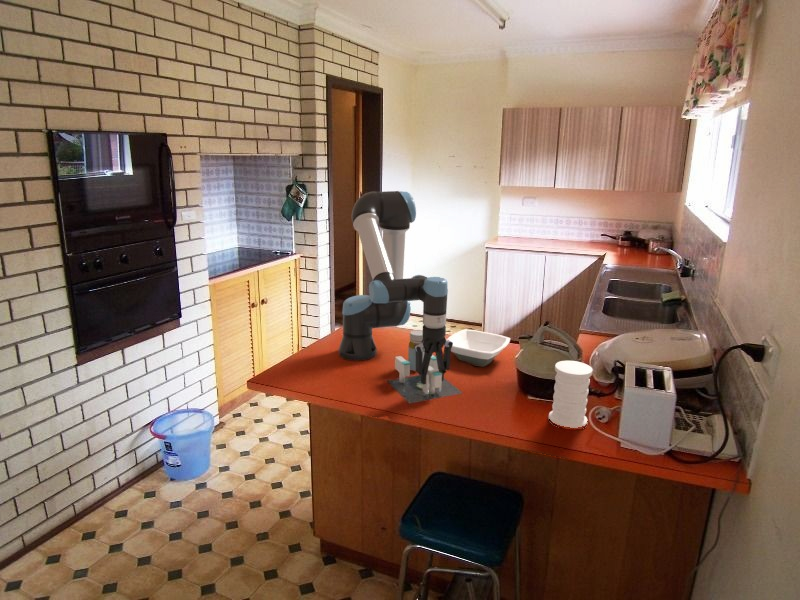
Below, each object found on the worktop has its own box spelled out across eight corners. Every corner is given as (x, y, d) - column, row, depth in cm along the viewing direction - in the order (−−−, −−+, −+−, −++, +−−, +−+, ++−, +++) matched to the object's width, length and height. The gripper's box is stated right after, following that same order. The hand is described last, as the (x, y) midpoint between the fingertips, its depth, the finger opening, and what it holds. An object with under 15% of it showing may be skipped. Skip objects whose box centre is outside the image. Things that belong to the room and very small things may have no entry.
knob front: (423, 389, 189) (424, 366, 187) (429, 387, 190) (430, 365, 188) (434, 398, 182) (435, 374, 180) (440, 397, 183) (441, 373, 181)
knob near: (394, 378, 197) (395, 356, 195) (400, 377, 198) (401, 355, 196) (403, 386, 191) (404, 363, 188) (409, 385, 192) (410, 362, 189)
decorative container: (543, 423, 170) (549, 369, 165) (554, 408, 180) (560, 357, 175) (581, 434, 165) (588, 378, 160) (591, 418, 174) (597, 365, 169)
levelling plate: (386, 383, 196) (386, 378, 196) (436, 375, 204) (436, 369, 204) (409, 406, 180) (409, 400, 179) (462, 396, 188) (463, 390, 187)
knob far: (422, 373, 202) (422, 351, 199) (427, 372, 203) (428, 350, 200) (432, 381, 195) (432, 359, 193) (437, 380, 196) (438, 358, 194)
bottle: (425, 374, 204) (426, 336, 200) (406, 373, 205) (407, 335, 201) (428, 367, 211) (429, 330, 207) (410, 365, 212) (410, 328, 208)
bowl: (494, 376, 204) (495, 355, 202) (438, 363, 215) (439, 343, 212) (513, 357, 222) (515, 337, 220) (461, 346, 233) (462, 327, 231)
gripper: (415, 331, 173) (413, 400, 179) (463, 325, 180) (459, 391, 186) (405, 324, 179) (404, 390, 186) (451, 318, 186) (448, 382, 193)
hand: (431, 390), depth 186 cm, fingers open, 4 cm apart
